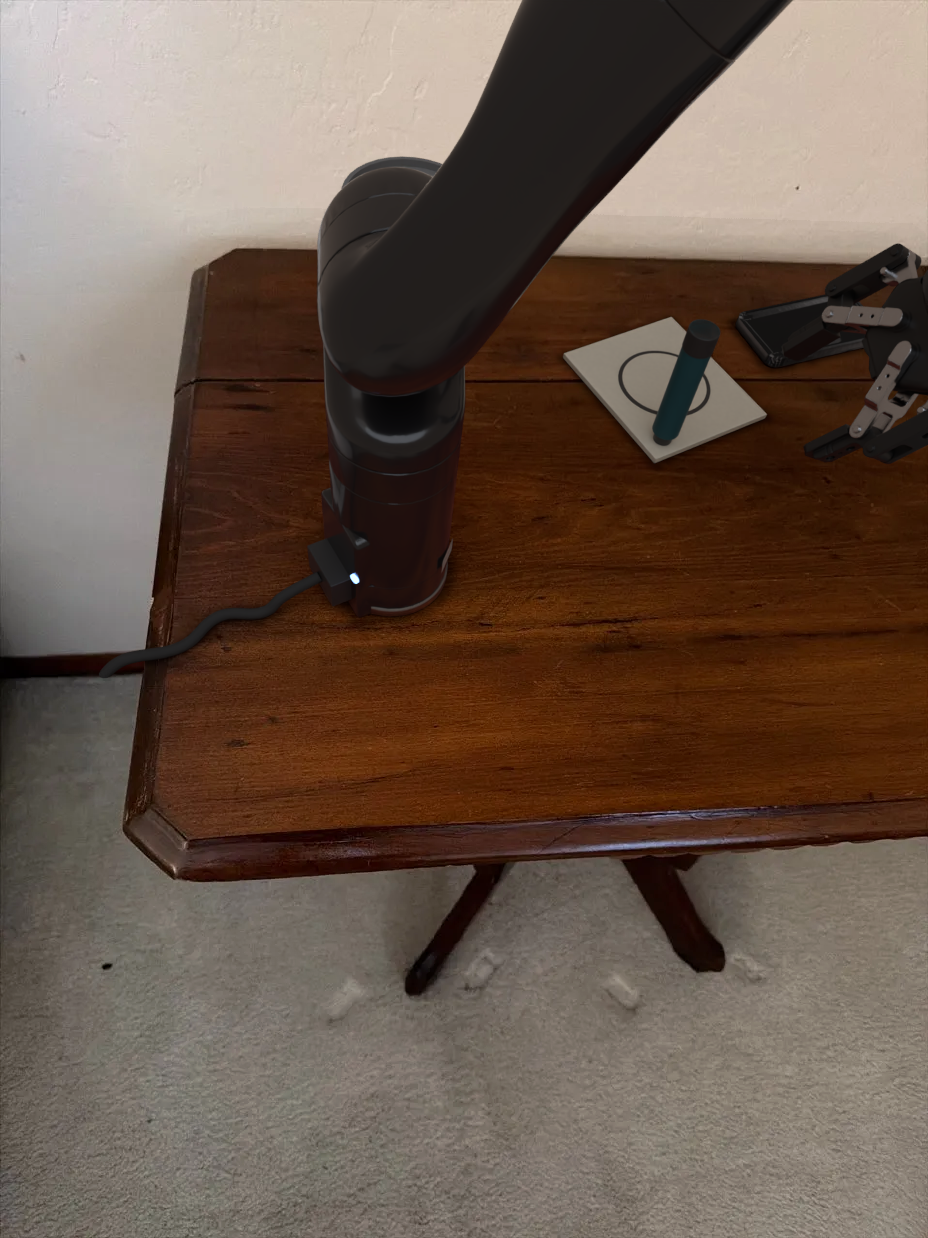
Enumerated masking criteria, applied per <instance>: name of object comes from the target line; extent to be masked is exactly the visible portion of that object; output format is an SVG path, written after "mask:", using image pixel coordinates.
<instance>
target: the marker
mask: <svg viewBox="0 0 928 1238" xmlns="http://www.w3.org/2000/svg"><path fill="white" fill-rule="evenodd" d="M720 336H721V329H720V327H719V326H718V325H717V323H715V322H713V321H711V320H708V319H704V318H703V319H702V318H700V319H699V318H697V319H694V320H692V321H691V322H689V325H688V327H687V329H686V335H685V338H684V340H683V343H682V347H681V350H680V353H679V356H678V358H677V361H676V364H675V366H674V369H673V372H672V374H671V377H670V380H669V383H668V385H667V388H666V391H665V393H664V396H663V399H662V401H661V404H660V407H659V410H658V412H657V415H656V418H655V420H654V423H653V426H652V430H653V432H654V435H653V440H654V442H655V443H657V444H658V445H661V446H667V445H669V444H670V443H671V441H672V440H673V439H675V438H676V437H678V435H679V433H680V430H681V428H682V425H683V423H684V421H685V418H686V416H687V413H688V411H689V408H690V406H691V403H692V401H693V399H694V396H695V394H696V391H697V389H698V386H699V384H700V381H701V379H702V377H703V374H704V372H705V369H706V367H707V364H708V362H709V360H710V357H711V358H712V355H713V354H714V352H715V349H716V347H717V344H718V341H719V338H720Z"/></svg>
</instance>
